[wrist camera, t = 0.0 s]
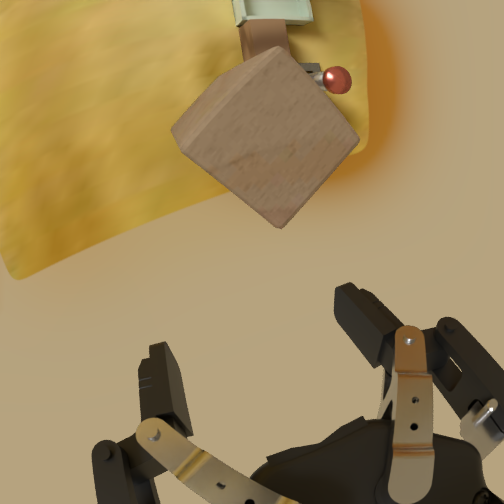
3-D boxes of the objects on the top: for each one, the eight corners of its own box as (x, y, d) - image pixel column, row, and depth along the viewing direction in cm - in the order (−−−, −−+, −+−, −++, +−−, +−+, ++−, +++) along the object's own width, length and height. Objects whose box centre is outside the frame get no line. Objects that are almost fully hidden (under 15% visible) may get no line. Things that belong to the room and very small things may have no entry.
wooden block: (272, 122, 37) (364, 140, 20) (225, 175, 38) (282, 233, 22) (220, 74, 31) (280, 41, 15) (168, 130, 33) (176, 148, 16)
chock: (238, 29, 29) (249, 19, 25) (269, 27, 30) (284, 18, 26) (244, 68, 32) (256, 62, 28) (276, 65, 33) (291, 60, 29)
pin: (287, 73, 34) (325, 65, 25) (309, 72, 34) (349, 66, 26) (291, 95, 35) (328, 94, 27) (311, 94, 36) (353, 93, 28)
